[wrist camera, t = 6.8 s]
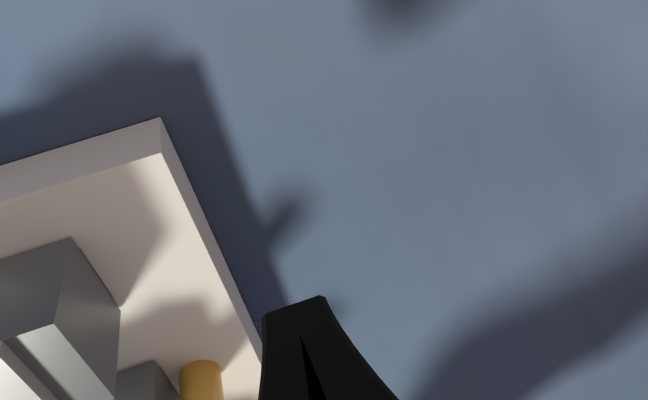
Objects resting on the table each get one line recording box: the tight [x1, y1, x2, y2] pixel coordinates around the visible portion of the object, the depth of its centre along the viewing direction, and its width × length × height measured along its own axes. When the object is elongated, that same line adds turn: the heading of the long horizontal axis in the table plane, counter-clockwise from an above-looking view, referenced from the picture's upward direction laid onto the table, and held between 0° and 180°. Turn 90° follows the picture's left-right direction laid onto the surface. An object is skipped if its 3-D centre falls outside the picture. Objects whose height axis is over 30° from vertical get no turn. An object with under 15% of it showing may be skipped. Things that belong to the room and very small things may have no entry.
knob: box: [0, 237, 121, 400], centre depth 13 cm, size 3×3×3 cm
